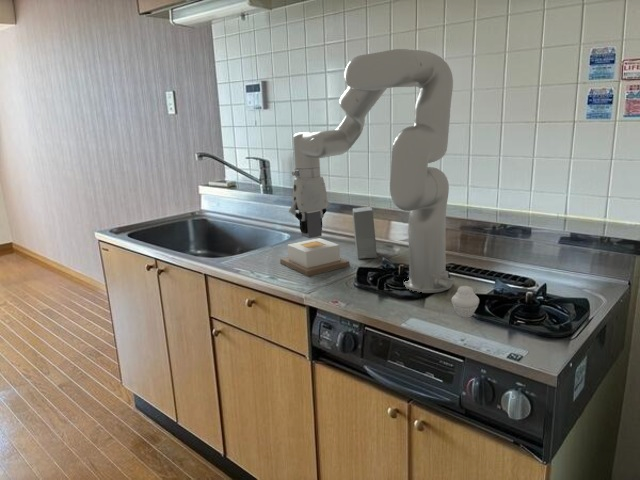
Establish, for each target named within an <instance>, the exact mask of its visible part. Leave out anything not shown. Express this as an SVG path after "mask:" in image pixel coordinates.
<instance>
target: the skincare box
mask: <svg viewBox="0 0 640 480" xmlns="http://www.w3.org/2000/svg"><path fill="white" fill-rule="evenodd" d="M352 220H353V221H352V222H353V223H352V224H353V232H354V242H355V251H356V256H357V259H360V260H361V259H378V252H377V251H378V250H377V241H376V229H375V221H374V209H373V208H372V206H365V207H363V206H362V207H355V208H354V207H353V208H352Z"/></svg>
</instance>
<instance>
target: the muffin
mask: <svg viewBox="0 0 640 480" xmlns="http://www.w3.org/2000/svg"><path fill="white" fill-rule="evenodd" d="M450 302H451V303H452V307H453V308H454V311H455V312H456V313H457V315H458V316H459V317H462V318H470V317H472V316H473V315H474V313H475V312H476V310H477V309H478V307H479V304H480V298H479V297H478V296H477V295H476V293H475V292H474V288H473V287H471V286H468V285H461V286H459V287H458V288H457V291H456V292H455V294H454V295H453V296H452V297H451V301H450Z"/></svg>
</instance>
